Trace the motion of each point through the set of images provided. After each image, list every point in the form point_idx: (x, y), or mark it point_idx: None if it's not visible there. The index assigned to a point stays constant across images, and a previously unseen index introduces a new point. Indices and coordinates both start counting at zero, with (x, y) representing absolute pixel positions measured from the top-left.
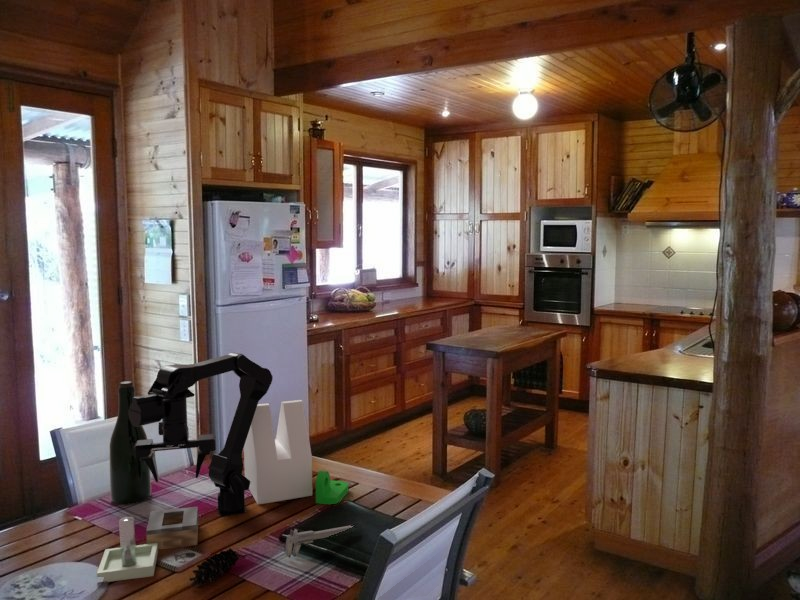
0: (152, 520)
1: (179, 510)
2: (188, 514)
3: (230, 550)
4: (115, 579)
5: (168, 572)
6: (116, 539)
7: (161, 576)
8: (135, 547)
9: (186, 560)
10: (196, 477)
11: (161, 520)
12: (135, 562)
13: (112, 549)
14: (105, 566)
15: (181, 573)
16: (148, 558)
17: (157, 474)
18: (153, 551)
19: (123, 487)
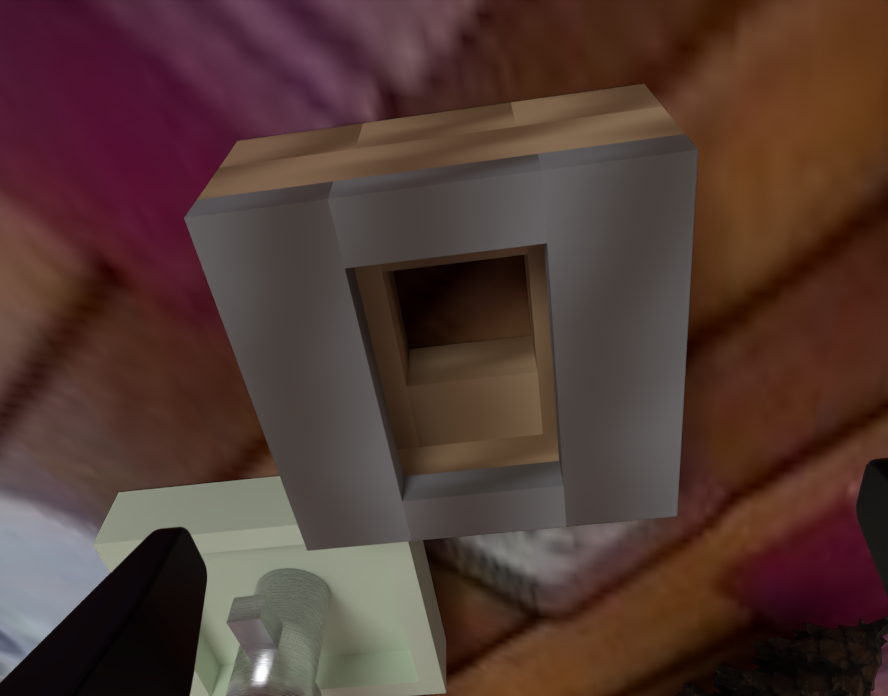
0: (287, 406)
1: (497, 232)
2: (602, 337)
3: (849, 685)
4: None
5: (508, 616)
6: (10, 248)
7: (481, 637)
8: (315, 671)
9: (585, 541)
10: (872, 535)
11: (370, 419)
12: (328, 607)
13: None
14: None
15: (571, 628)
16: (380, 561)
17: (157, 687)
18: (406, 592)
19: None
